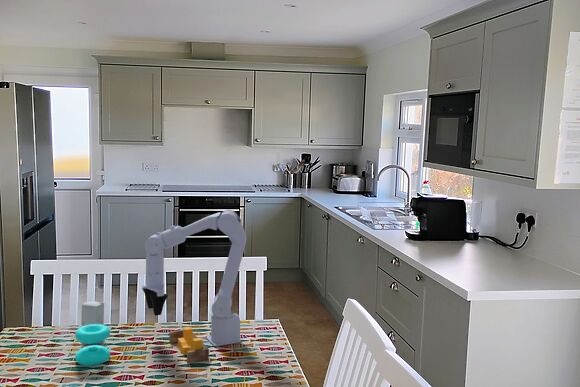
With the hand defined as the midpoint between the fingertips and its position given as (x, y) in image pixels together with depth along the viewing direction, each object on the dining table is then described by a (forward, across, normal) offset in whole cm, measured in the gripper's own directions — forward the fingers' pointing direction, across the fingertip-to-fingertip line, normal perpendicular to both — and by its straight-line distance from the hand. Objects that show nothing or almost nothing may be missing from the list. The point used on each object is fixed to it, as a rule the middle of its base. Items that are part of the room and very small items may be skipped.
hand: (154, 311), depth 182 cm
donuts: (+10, +8, -21) cm, 25 cm away
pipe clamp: (+10, +15, +7) cm, 20 cm away
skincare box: (+10, -10, -18) cm, 23 cm away
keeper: (+10, +13, +8) cm, 18 cm away
